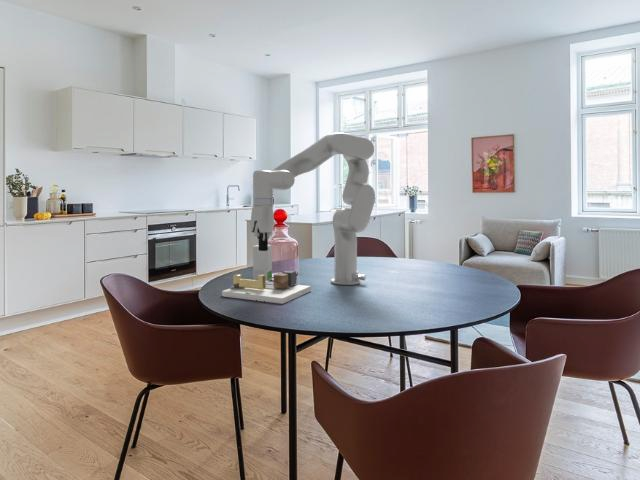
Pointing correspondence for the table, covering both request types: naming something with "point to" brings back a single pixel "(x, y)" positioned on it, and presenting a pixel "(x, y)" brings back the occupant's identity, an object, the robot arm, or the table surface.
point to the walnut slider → (280, 280)
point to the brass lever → (249, 282)
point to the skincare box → (262, 263)
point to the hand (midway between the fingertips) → (263, 250)
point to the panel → (268, 293)
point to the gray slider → (291, 277)
